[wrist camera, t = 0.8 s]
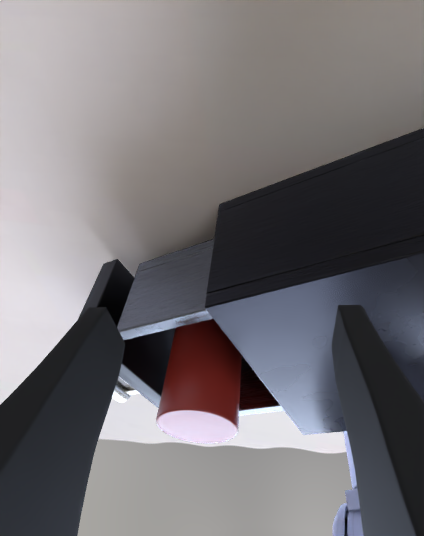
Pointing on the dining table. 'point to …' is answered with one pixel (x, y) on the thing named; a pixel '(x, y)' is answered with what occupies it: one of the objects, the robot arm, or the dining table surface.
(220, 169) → the dining table surface
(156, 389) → the tray drawer
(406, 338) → the warmer
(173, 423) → the spice tin
